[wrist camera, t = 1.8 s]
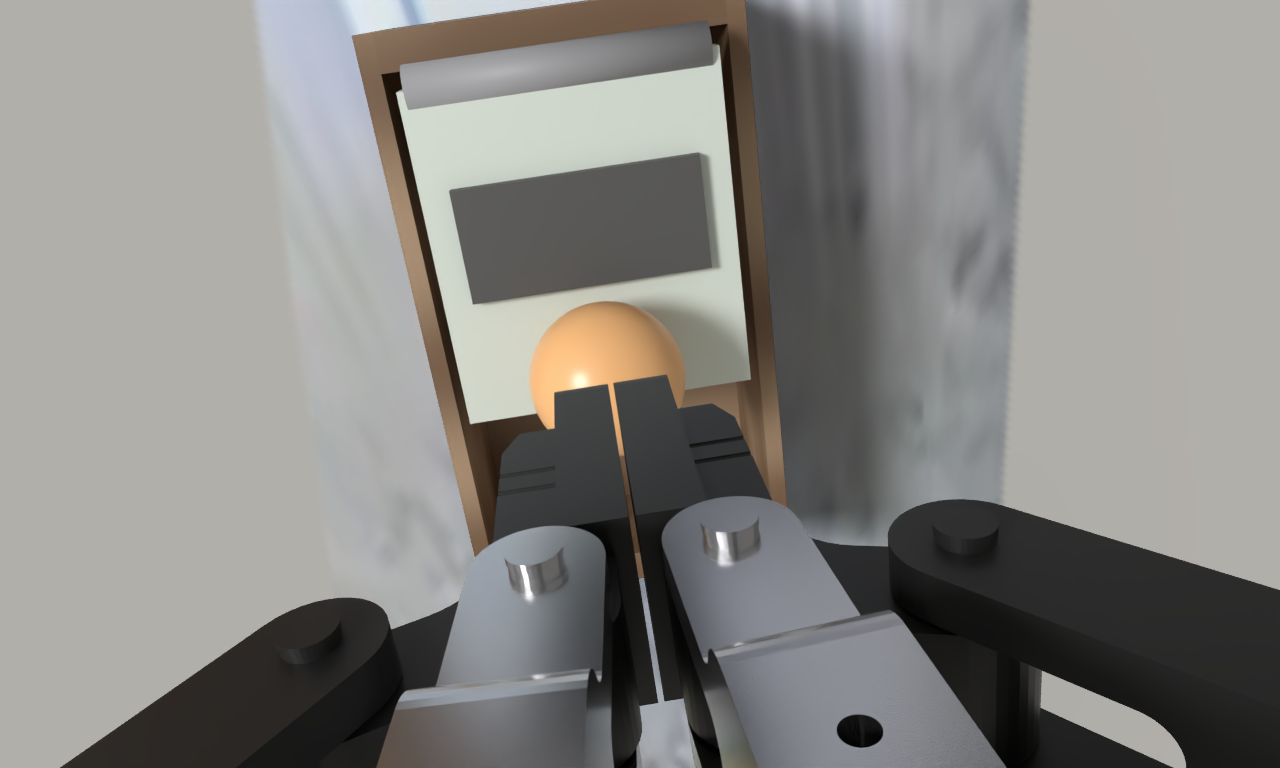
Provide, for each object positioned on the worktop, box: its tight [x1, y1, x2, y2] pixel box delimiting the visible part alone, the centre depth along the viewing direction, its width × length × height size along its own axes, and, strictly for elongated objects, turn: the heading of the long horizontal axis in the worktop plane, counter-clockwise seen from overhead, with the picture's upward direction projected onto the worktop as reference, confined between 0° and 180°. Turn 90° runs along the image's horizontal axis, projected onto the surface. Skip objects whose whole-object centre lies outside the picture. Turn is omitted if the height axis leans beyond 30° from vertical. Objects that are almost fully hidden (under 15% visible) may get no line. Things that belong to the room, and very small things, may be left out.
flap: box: [396, 20, 751, 424], centre depth 25 cm, size 10×8×1 cm
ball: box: [529, 301, 686, 457], centre depth 24 cm, size 4×4×4 cm
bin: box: [352, 0, 787, 578], centre depth 30 cm, size 18×10×6 cm, turn 8°
